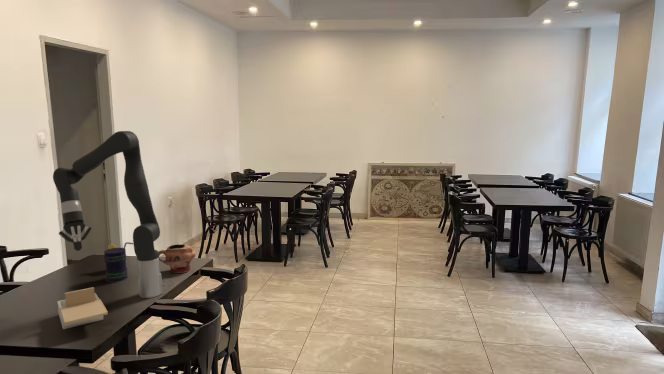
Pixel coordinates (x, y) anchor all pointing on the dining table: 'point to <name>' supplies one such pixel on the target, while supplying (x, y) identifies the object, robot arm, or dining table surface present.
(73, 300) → the lid
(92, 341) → the dining table surface
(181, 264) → the decorative planter
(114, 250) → the storage jar
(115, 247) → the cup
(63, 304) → the base
